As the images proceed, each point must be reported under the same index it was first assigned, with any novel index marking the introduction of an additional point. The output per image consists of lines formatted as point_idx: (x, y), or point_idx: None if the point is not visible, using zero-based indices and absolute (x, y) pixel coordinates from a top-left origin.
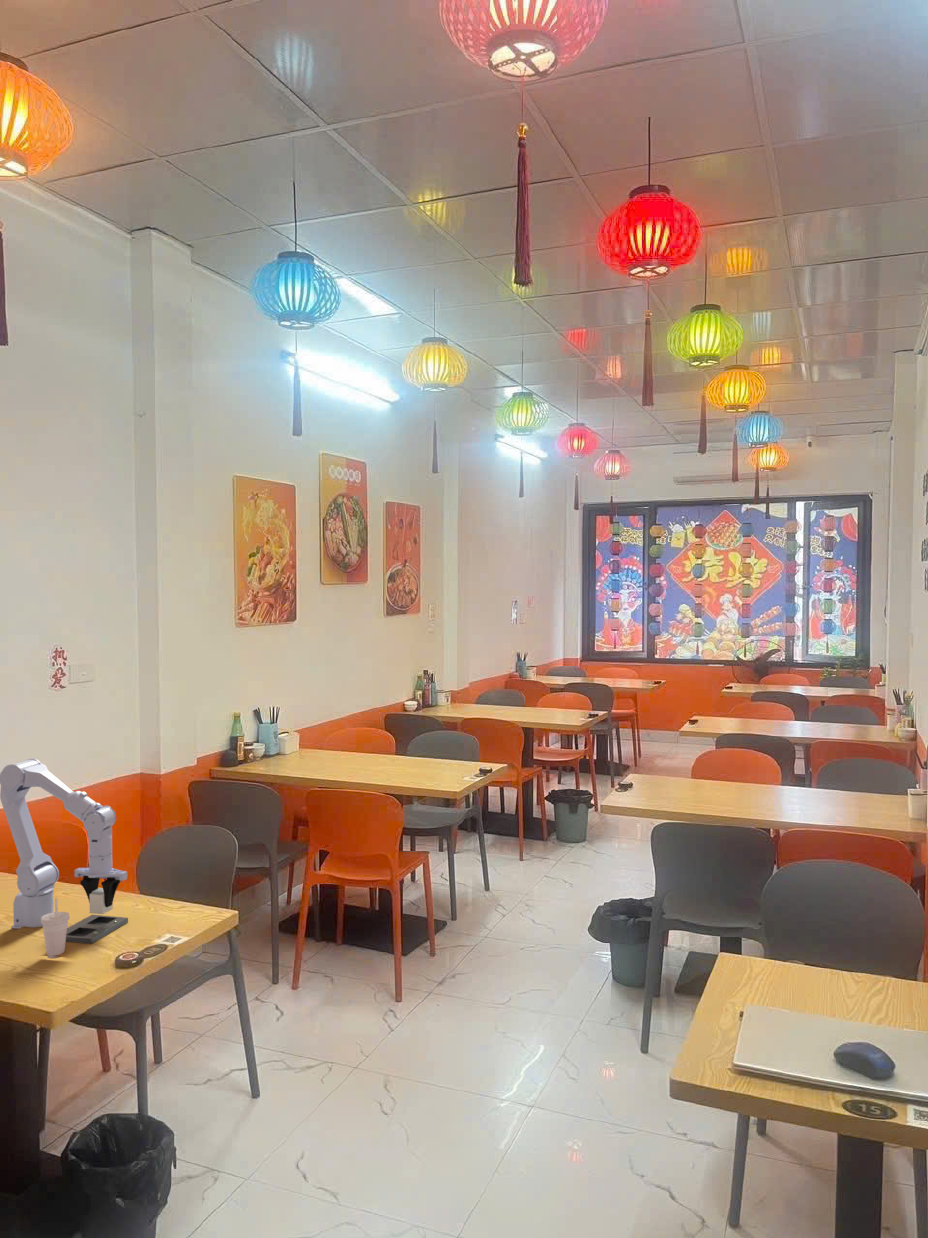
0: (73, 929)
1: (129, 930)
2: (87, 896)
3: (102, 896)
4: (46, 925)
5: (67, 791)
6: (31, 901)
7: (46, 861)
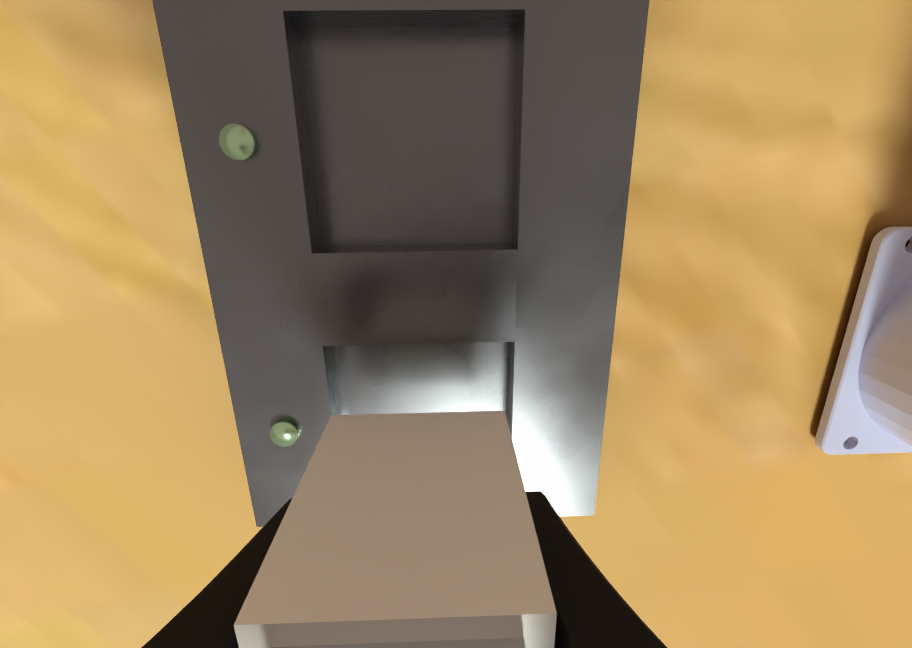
0: (541, 184)
1: (193, 413)
2: (608, 584)
3: (253, 604)
4: None
5: None
6: None
7: None
